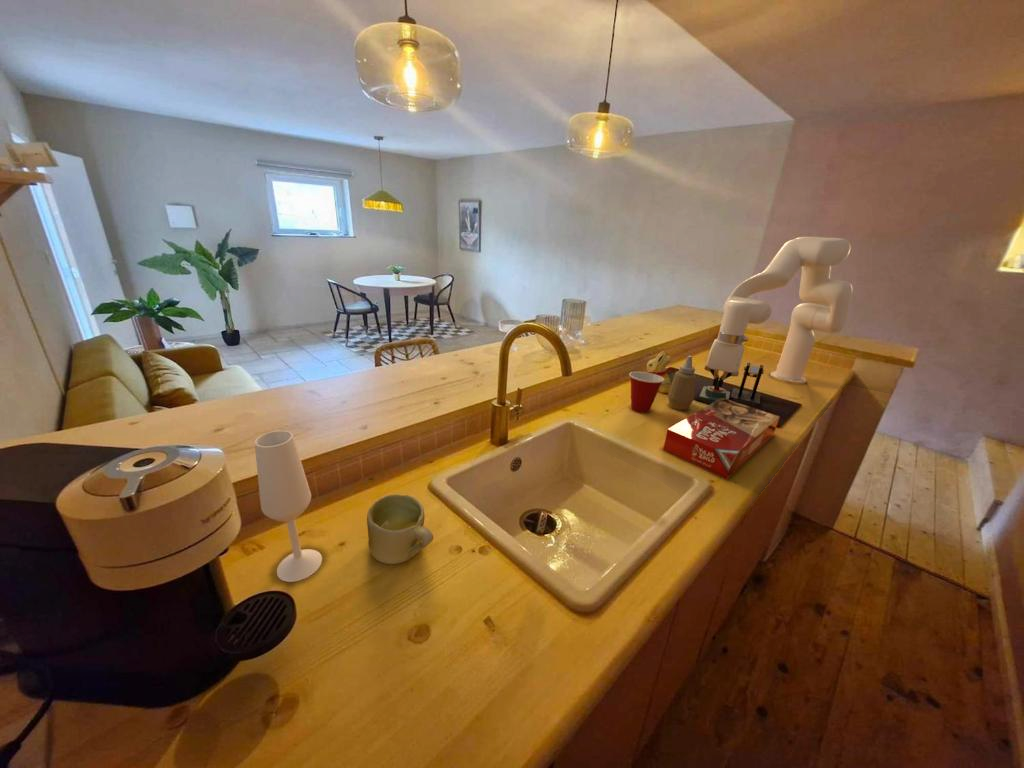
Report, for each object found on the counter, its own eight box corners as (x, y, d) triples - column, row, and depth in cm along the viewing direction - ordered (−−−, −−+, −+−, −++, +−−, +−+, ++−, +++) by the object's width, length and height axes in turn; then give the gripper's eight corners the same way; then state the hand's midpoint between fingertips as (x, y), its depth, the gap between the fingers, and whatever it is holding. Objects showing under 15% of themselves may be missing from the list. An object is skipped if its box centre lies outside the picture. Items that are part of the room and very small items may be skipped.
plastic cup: (659, 406, 131) (666, 373, 126) (655, 419, 122) (663, 384, 117) (626, 399, 135) (632, 367, 130) (620, 411, 126) (626, 377, 121)
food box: (716, 415, 127) (721, 397, 125) (773, 435, 116) (779, 416, 113) (663, 449, 105) (667, 429, 103) (726, 478, 94) (733, 456, 91)
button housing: (702, 391, 146) (704, 381, 145) (729, 397, 142) (731, 387, 140) (697, 401, 137) (700, 391, 135) (726, 408, 132) (729, 398, 131)
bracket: (732, 390, 148) (741, 358, 143) (759, 396, 144) (770, 364, 139) (730, 400, 139) (739, 366, 135) (758, 407, 135) (770, 372, 130)
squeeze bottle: (693, 413, 127) (706, 361, 120) (667, 410, 129) (679, 358, 122) (688, 403, 135) (700, 354, 128) (663, 400, 136) (674, 351, 129)
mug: (345, 540, 67) (363, 493, 65) (395, 525, 75) (412, 483, 73) (381, 594, 60) (402, 545, 58) (431, 572, 69) (452, 528, 66)
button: (710, 390, 140) (711, 385, 140) (721, 392, 139) (722, 388, 138) (709, 393, 138) (710, 388, 137) (720, 395, 136) (721, 391, 135)
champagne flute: (315, 543, 69) (293, 422, 60) (327, 567, 64) (306, 441, 55) (272, 562, 65) (241, 435, 56) (282, 589, 60) (251, 456, 51)
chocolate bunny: (647, 382, 151) (654, 345, 146) (672, 392, 143) (681, 353, 138) (636, 386, 147) (643, 348, 142) (662, 396, 139) (671, 356, 134)
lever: (742, 376, 148) (744, 370, 148) (757, 379, 146) (759, 373, 146) (745, 371, 137) (746, 364, 137) (761, 374, 135) (763, 367, 135)
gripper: (755, 340, 130) (740, 390, 137) (707, 332, 137) (695, 380, 144) (755, 344, 124) (739, 397, 131) (704, 336, 131) (692, 386, 138)
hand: (716, 388), depth 137 cm, fingers closed
